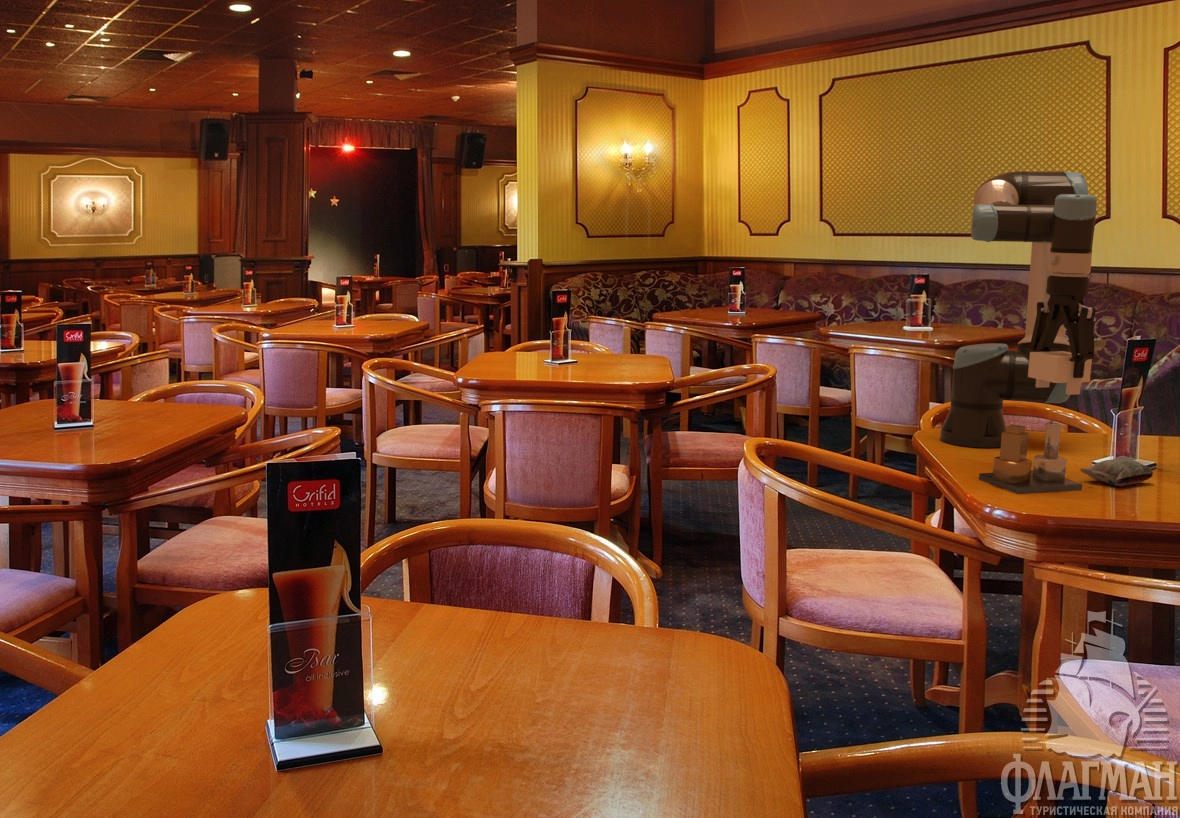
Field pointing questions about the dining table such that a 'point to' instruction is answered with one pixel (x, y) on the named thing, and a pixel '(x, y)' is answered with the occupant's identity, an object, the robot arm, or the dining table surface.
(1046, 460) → the stand
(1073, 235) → the robot arm
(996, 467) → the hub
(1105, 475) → the packaged food
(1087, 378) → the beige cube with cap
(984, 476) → the jig plate
